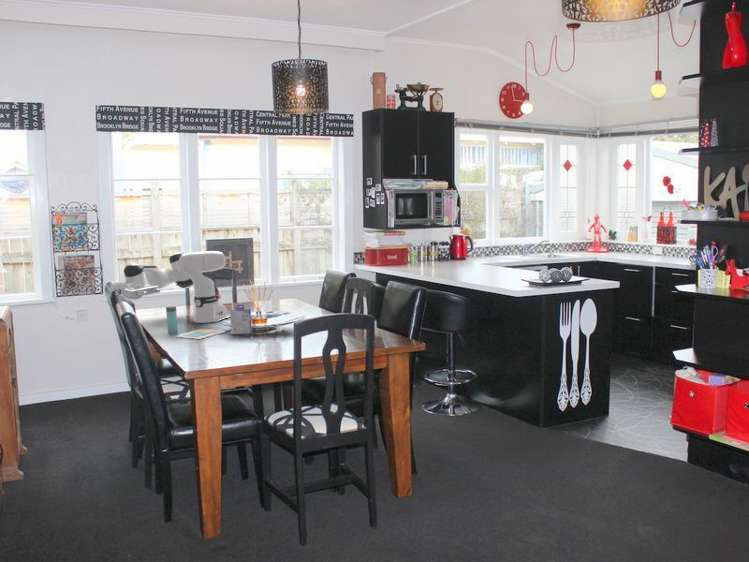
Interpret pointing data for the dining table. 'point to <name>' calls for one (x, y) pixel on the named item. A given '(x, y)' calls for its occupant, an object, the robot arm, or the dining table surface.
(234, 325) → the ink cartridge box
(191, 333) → the picture board
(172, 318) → the teal canister
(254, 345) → the dining table surface
